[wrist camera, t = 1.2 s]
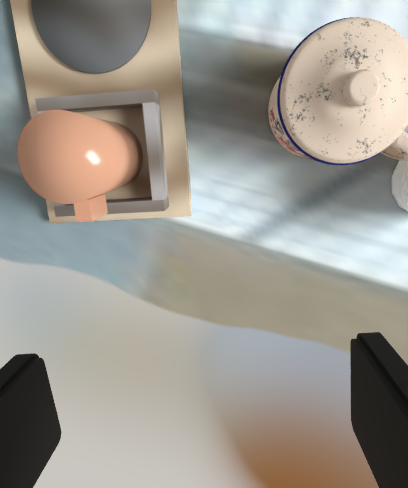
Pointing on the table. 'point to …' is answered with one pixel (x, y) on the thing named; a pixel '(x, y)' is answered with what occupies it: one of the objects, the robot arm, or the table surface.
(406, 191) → the white cup
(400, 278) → the table surface
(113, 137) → the peach rounded peg
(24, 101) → the table surface
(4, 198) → the table surface
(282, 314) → the table surface
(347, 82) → the teacup with lid
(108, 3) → the board
